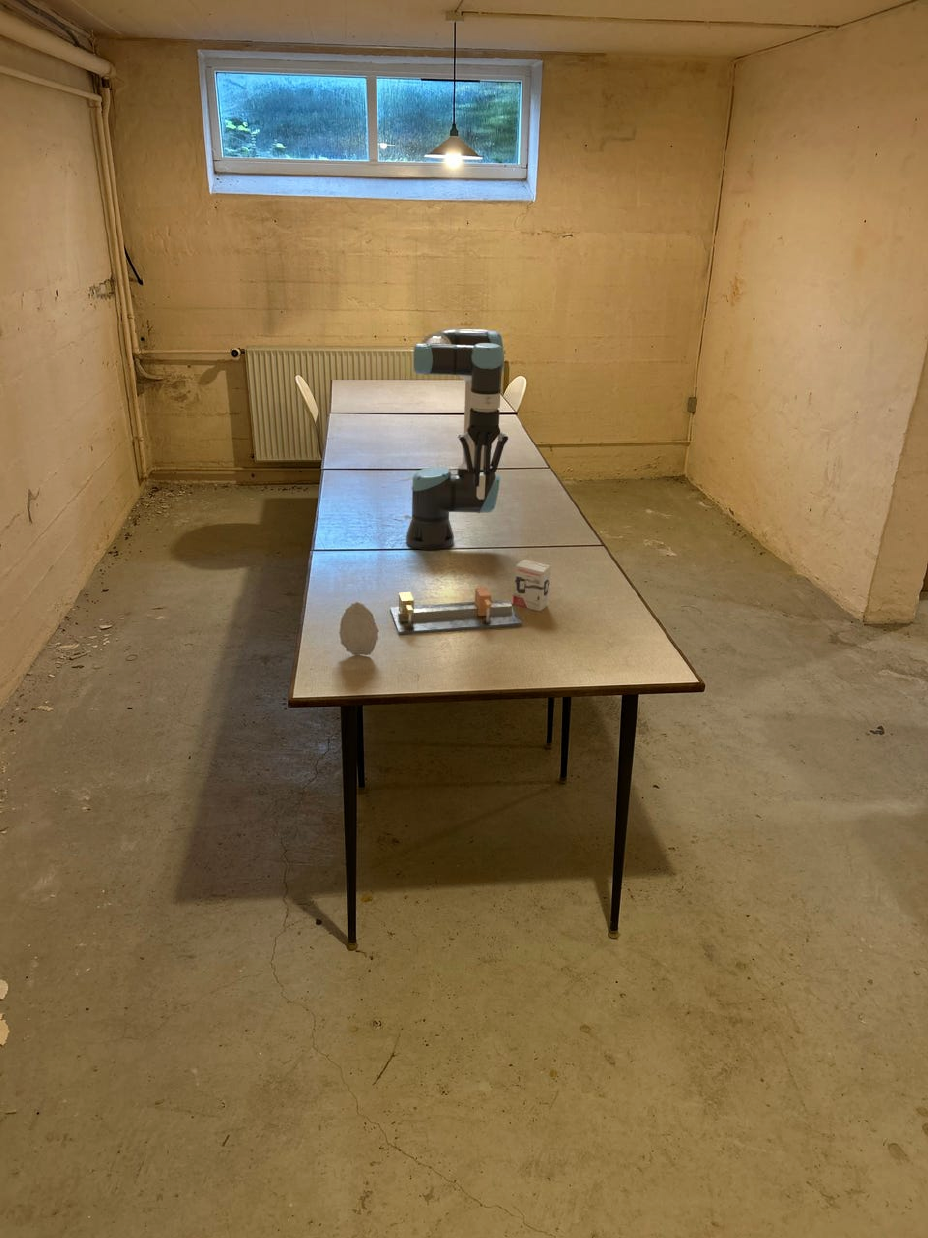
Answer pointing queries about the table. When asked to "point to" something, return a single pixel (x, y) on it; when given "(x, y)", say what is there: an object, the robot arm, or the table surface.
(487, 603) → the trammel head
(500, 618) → the hole plate
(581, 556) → the table surface
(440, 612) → the rail
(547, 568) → the ink box
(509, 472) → the table surface
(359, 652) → the stone tool
